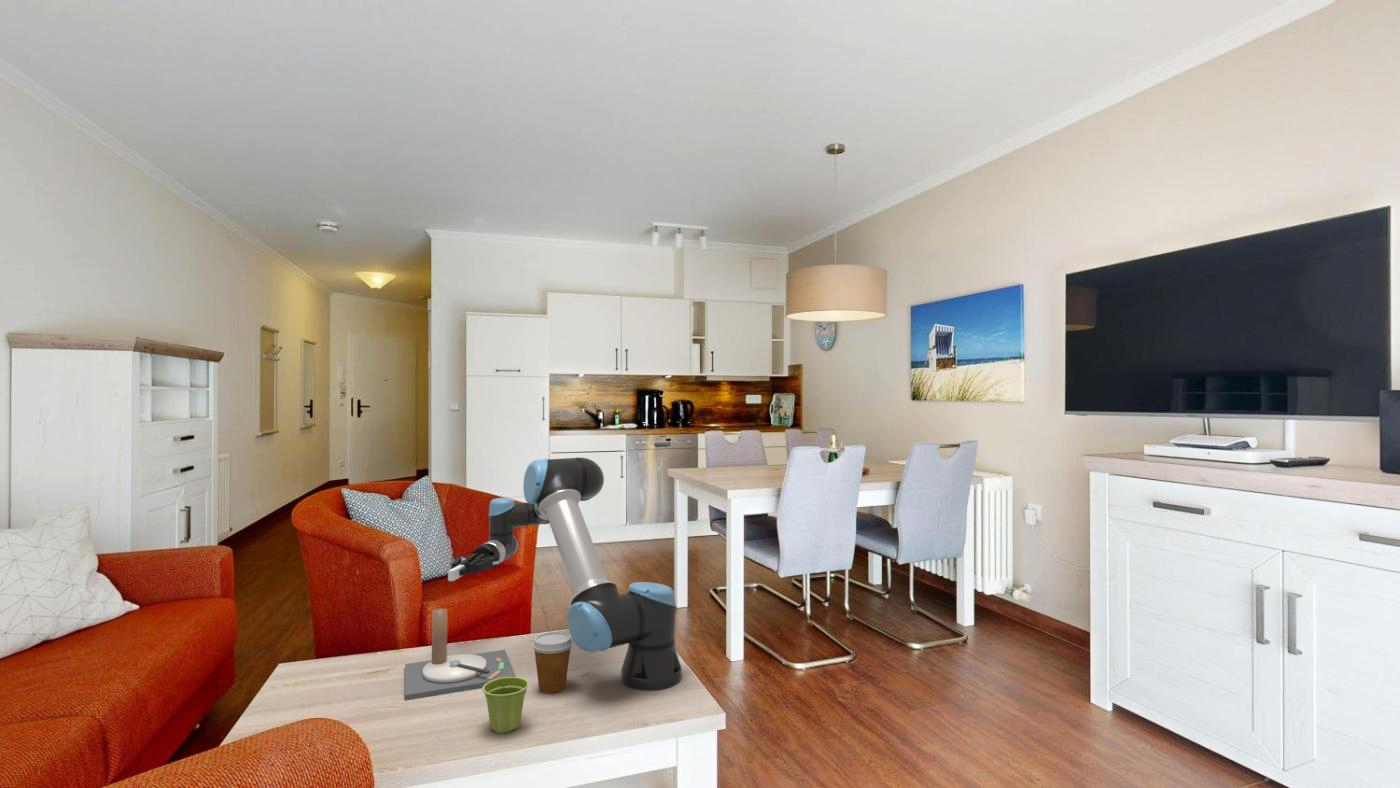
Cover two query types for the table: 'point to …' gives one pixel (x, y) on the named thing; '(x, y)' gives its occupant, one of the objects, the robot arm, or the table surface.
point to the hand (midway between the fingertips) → (450, 575)
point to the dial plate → (423, 688)
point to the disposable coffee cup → (552, 660)
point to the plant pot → (505, 702)
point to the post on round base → (449, 666)
